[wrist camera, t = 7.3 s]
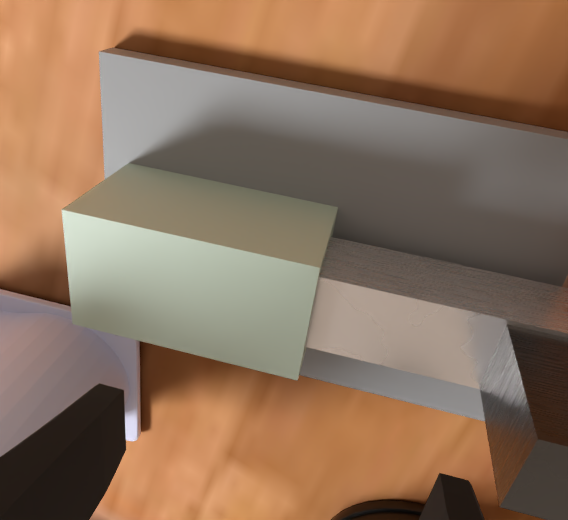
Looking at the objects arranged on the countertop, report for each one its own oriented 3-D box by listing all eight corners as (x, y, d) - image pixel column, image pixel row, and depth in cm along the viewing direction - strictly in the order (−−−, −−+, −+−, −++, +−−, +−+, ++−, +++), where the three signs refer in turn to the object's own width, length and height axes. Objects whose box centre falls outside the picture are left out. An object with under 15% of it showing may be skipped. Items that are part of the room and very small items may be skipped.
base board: (122, 315, 25) (111, 328, 24) (113, 47, 19) (99, 51, 18) (604, 434, 22) (612, 453, 21) (777, 170, 16) (798, 182, 15)
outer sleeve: (130, 262, 22) (72, 324, 18) (128, 162, 20) (61, 209, 16) (317, 306, 21) (297, 380, 17) (337, 207, 19) (320, 267, 15)
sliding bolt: (252, 285, 20) (181, 426, 14) (259, 221, 19) (186, 345, 12) (616, 370, 19) (718, 569, 12) (655, 307, 17) (793, 497, 11)
